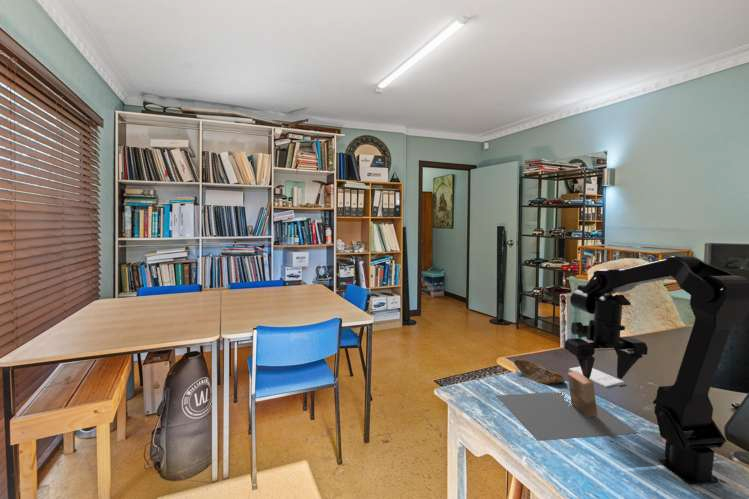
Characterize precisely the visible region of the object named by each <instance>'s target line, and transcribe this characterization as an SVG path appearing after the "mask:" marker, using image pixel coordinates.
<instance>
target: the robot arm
mask: <svg viewBox="0 0 749 499" xmlns="http://www.w3.org/2000/svg"><path fill="white" fill-rule="evenodd" d="M592 273H593V275H592V277H590V279H589V280H588V282H587V283H586V284H581V285H579V284H578V285H577V289H576V290H574V291H572V294H571V296H570V297H569V302H570V304H571V306H572V307H573V308H575V309H577V310H579V311H582V312H585V313H588V314H591V315H593V319H590V320H589V322H588V323H589V324H588V325H583V323H582V322H581V321H577V322H575V321H573V322H571V326H570V329H571V334H572V335H577V338H576V337H575V338H567V339H565V341H564V350H566V351H567V352H569V353H570V354H572V355H574V356H575V357H576V359H577V361H578V364H579V366H580V367H581V370H582V373H583V375H584V376H585V377H587V378H590V376H591V372H592V368H594V363H595V359H596V358H595V357H594V355H595V351H615V353H616V356H617V362H616V363H617V364H616V366H617V367H616V377H617V379H619V380H622V379H623V378H624V377H625V376H626V374H627V373H628V372H629V370H630V369H632V367H633V366H634V365H635V363H637V362H638V360H639V359H642V358H643V356H644V355H648V346H647V344H646V342H644V341H641V340H639V339H637V338H635V337H632V336H621V331H625V330H626V326H625V325H623V324H622V318H623V317H622V316H623V306H631V302H630V301H629V299H627V298H626V297H625V295H624V294H623V293H626V292H627V291H631V290H633V289H635V288H636V286H638V285H643V284H646V283H647V284H648V283H653V282H659V281H664V280H669V279H674V280H675V281H676V284H677V285H678V287H679V288H680V289H681V290H683V291H684V292H686V293H687V294H688V295H690V300H689V307H690V308H691V312H692V313H693V316H694V322H693V325H692V327H691V328H692V329H691V331H690V335H689V338H688V340H687V344H686V347H685V350H684V352H683V356H682V360H681V362H680V364H679V365H680V366H679V369H678V371H677V375H676V378H675V381H674V383H673V384H672V385H660V386H658V388H657V391H656V396H655V399H654V400H653V401H652V404H654V414H655V416H656V421H657V425H658V432H659V435H660V437H661V438H663V439H664V440H665V446H664V447H665V448H664V458H660V459H658V462H659V463H660V464H661V465H662V466H663V467H665V468H666V469H667V470H669V471H670V472H671V471H672V472H671V473H673V474H674V475H675V476H677V477H679V478H680V479H681V480H682V481H684V482H685V483H687V484H688V485H691V486H692V485H693V486H695V485H704V484H714V483H719V481H720V479H719V478H718V477H717V476H715V475H714V474H713V470H714V460H715V459H714V458H715V457H714V456H715V451H714V450H713V448H714V449H715V448H718V449H721V448H723V446H724V445H725V443H726V442H727V440H726V437H725V436H724V435H723V433H722V432H721V430H720V428H719V427H718V425H717V423H716V422H715V421H714V419H713V413H714V407H713V404H712V402H711V399H710V397H709V393H710V391H711V387H712V383H713V381H714V378H715V376H716V373H717V370H718V368H719V364H720V361H721V358H722V356H723V354H724V350H725V348H726V344H727V342H728V339H729V336H730V333H731V330H732V329H733V327H734V326H735V325H737V324H738V323H739V322H740V321H741V320H742V319H743V318H745V317H746V316H748V314H749V279H748V278H746V277H744V276H739V275H735V274H734V273H731V272H729V271H727V270H725V269H723V268H719V267H717V266H715V265H712V264H709V263H706V262H705V261H703V260H701V259H699V258H698V257H695V256H692V255H672V256H669V257H668V258H665V259H660V260H656V261H652V262H648V263H644V264H640V265H635V266H632V267H628V268H621V269H620V268H619V269H618V268H616V269H597V270H595V271H594V272H592ZM617 293H619V294H617ZM620 293H622V294H620ZM612 294H615V295H612ZM583 338H586V340H584V339H583ZM588 341H592V342H588Z"/></svg>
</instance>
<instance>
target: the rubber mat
mask: <svg viewBox="0 0 749 499" xmlns="http://www.w3.org/2000/svg"><path fill="white" fill-rule="evenodd" d="M556 392H558V393H556ZM559 392H561V393H559ZM562 392H563V391H551V392H535V393H515V394H514V393H513V394H499V395H498V394H497V395H494V396H495V397H496V398H497V399H498V400H499V401H500V403H502V404H503V405H504V407H506V409H507V410H508V411H509V412H510V413H511V415H513V416H514V417H515V419H517V420H518V422H519V423H520V424H522V426H523V427H524V428H525V429H526V430H527V432H529V433H530V434H531V435H532V437H533V438H534V439H535V440H536V441H538V442H540V441H551V440H563V439H577V438H578V439H579V438H591V437H593V438H594V437H606V436H620V435H622V436H623V435H633V434H634V435H635V434H639V431H637V430H635V429H634V428H633V427H631V426H629V424H627V423H625V422H624V421H623V420H621V419H620V418H618V417H617V416H616V415H614V414H613V413H611V412H610V411H608V410H607V409H605V408H604V407H603V406H601V405H600V404H598V403H597V404H596V408H597V416H593V417H589V418H588V417H586V416H585V415H584V414H583V413H581V412H580V411H579V410H577V409H576V408H575V407H574V406H572V405H571V404H570V403H569V402H567V401H565V400H566V399H565V398H564V396H565V394H564V393H563V394H564V395H562ZM561 395H562V396H561ZM564 399H565V400H564ZM568 401H569V400H568ZM569 404H570V406H568V405H569Z"/></svg>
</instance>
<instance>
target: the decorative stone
mask: <svg viewBox="0 0 749 499" xmlns="http://www.w3.org/2000/svg"><path fill="white" fill-rule="evenodd" d="M513 363H514V365H515V367H517V369H518V370H519V371H520V372H521V374H522V375H523V376H524V378H527V379H529V378H530V379H529V380H531V379H532V381H533V380H534V382H536V383H539V384H545V385H548V384H551V385H552V384H559V383H565V382H566V379H565V378H564V377H563V376H562V375H561V374H559V373H557V372H555V371H553V370H550V369H546V368H545V367H543V366H541V365H538V364H537V363H534V362H532V361H530V360H527V359H522V358H516V359H515V360H514V362H513Z"/></svg>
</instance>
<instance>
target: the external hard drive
mask: <svg viewBox="0 0 749 499" xmlns="http://www.w3.org/2000/svg"><path fill="white" fill-rule="evenodd" d="M573 371H577V372H579V373H580V374H582V375H583V373H582V370H581V367H580V365H579V366H575V367H570V368H568V373H570V372H573ZM589 379H590V380H592V381H593V383H596V384H597V385H599V386H602V387H604V388H609V387H613V386H618V387H619V386H624V385H625V381H624V380H622V379H619V378H618V377H617V378H616V377H615V376H612V375H610V374H608V373H605V372H603V371H601V370H598V369H596V368H594V367H593V368H592V372H591V376H590V378H589Z"/></svg>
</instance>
